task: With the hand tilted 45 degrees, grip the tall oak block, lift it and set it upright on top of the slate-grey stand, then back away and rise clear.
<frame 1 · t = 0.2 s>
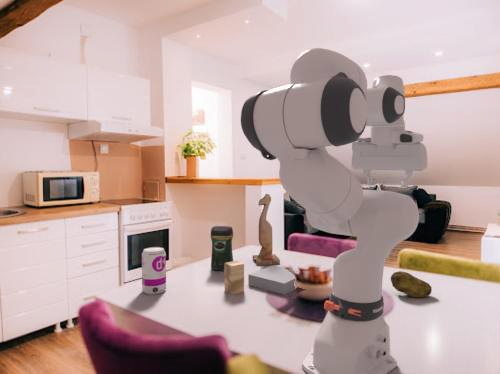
hand: (387, 185, 100), 39 cm above the table, tool pointing down, fingers open, 8 cm apart
potato: (410, 296, 121), on the table
bird sculpture: (265, 262, 164), on the table
coffee jar: (222, 269, 152), on the table
oak block: (234, 290, 125), on the table
supplement can: (154, 291, 125), on the table
grey stand: (278, 283, 133), on the table
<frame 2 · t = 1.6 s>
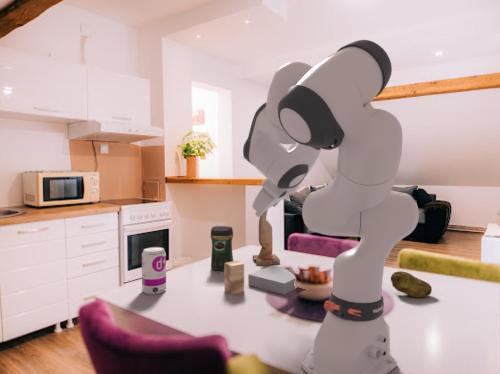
hand: (266, 209, 117), 30 cm above the table, tool tilted 45°, fingers open, 8 cm apart
nothing on the table moved.
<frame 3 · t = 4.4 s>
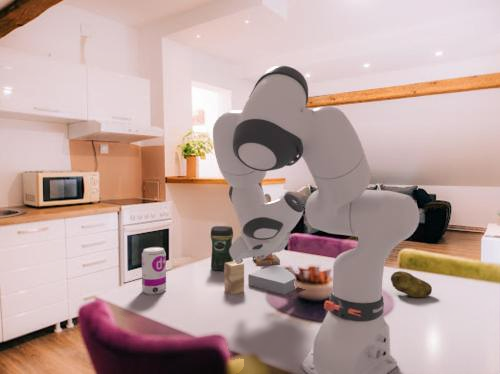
hand: (249, 259, 116), 14 cm above the table, tool tilted 45°, fingers open, 8 cm apart
nothing on the table moved.
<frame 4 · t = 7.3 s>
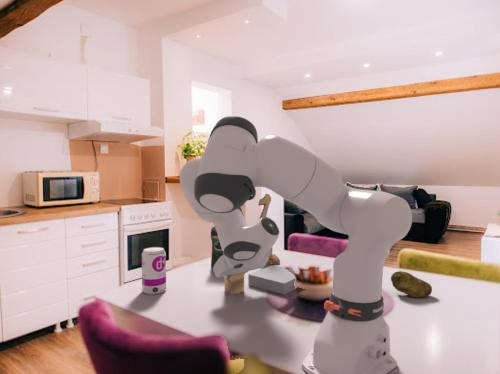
hand: (233, 275, 125), 5 cm above the table, tool tilted 45°, fingers closed on oak block, 5 cm apart
oak block: (234, 290, 125), on the table, touching gripper
everything else where it was.
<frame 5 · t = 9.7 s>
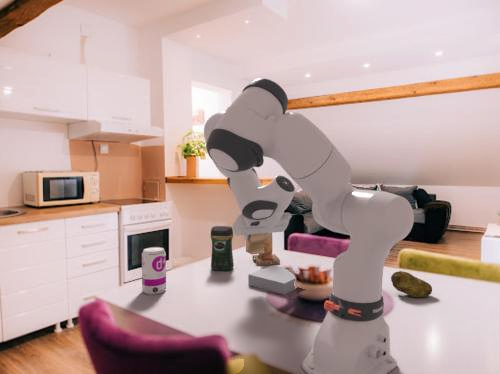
hand: (254, 237, 129), 18 cm above the table, tool tilted 45°, fingers closed on oak block, 5 cm apart
oak block: (254, 252, 129), point 13 cm above the table, touching gripper
everything else where it was.
when the fingers open (11 cm above the table, at t = 12.1 s): oak block drops 1 cm, resting on grey stand.
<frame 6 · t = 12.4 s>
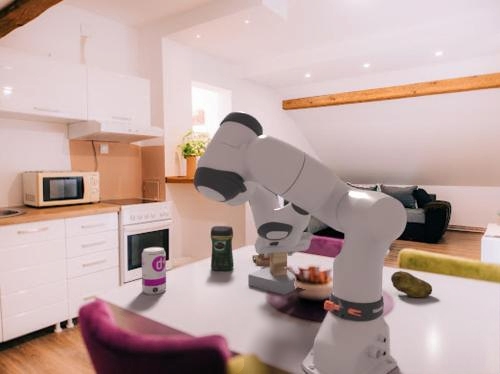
hand: (277, 255, 133), 11 cm above the table, tool tilted 45°, fingers open, 8 cm apart
oak block: (278, 273, 132), point 4 cm above the table, touching grey stand
everything else where it was.
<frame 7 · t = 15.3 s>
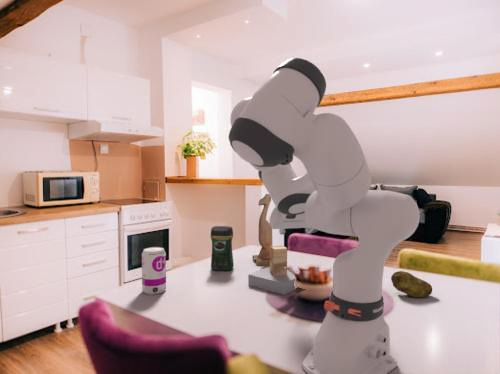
hand: (294, 232, 120), 22 cm above the table, tool tilted 45°, fingers open, 8 cm apart
nothing on the table moved.
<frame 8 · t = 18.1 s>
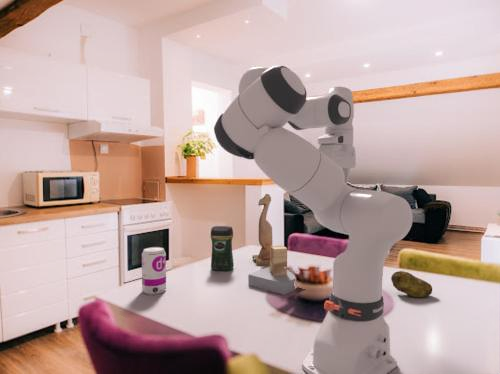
hand: (338, 182, 115), 39 cm above the table, tool pointing down, fingers open, 8 cm apart
nothing on the table moved.
at the end: oak block inside the target area on the grey stand (0.0 cm from its centre), point 4.0 cm above the grey stand's base; oak block tilted 0°; the gripper is holding nothing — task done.
